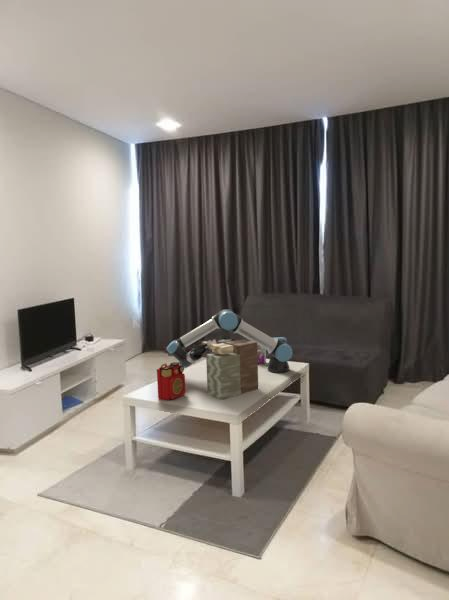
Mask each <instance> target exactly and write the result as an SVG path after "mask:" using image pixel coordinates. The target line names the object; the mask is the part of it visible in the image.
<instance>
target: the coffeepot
mask: <svg viewBox="0 0 449 600" xmlns="http://www.w3.org/2000/svg"><path fill="white" fill-rule="evenodd" d="M235 340H236V339H234V338H232V339H226V337H225V336H223V339H219V340H217V341H216V343H217V344H221V343H224V344H225V342H229V341H235Z"/></svg>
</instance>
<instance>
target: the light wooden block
mask: <svg viewBox="0 0 449 600" xmlns="http://www.w3.org/2000/svg"><path fill="white" fill-rule="evenodd" d="M206 342H208V341H206V340H204V341H201V346H202V345H204V344H205V343H206ZM211 344H212V345H210V346H209V347H207V348H209V349H211V351H212V353H218V354H222V355H223V354H228V353H233V345H229V344H224V343H221V344H218V343H217V344H215V343H211Z"/></svg>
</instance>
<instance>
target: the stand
mask: <svg viewBox="0 0 449 600" xmlns="http://www.w3.org/2000/svg"><path fill="white" fill-rule="evenodd" d="M234 340H235V341H229V342H225V344H229V345H233V353H228V354H223V355H222V354H218V353H215V352H212V353H207V354H205V357H206V363H205V364H206V386H207V388H206V389H207V395H209V396H212V397H215V398H218V399H219V400H225V399H229V398H232V397H235V396H240V395H243V394H247V393H249V392H253V391H257V390H259V364H258V352H257V342H254V341H251V340H249V339H244V338H241V339H240V338H239V339H234Z"/></svg>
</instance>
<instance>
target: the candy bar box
mask: <svg viewBox="0 0 449 600" xmlns="http://www.w3.org/2000/svg"><path fill="white" fill-rule="evenodd" d="M257 352H258V365H261V364H262V365H265V364H267V350H266V349H264V348H263V347H261V346H259V345H258V344H257Z"/></svg>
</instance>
